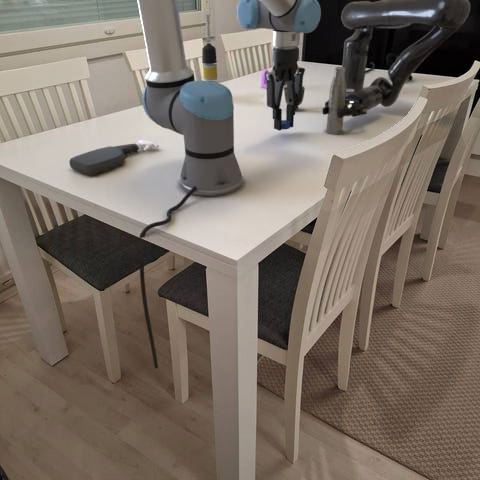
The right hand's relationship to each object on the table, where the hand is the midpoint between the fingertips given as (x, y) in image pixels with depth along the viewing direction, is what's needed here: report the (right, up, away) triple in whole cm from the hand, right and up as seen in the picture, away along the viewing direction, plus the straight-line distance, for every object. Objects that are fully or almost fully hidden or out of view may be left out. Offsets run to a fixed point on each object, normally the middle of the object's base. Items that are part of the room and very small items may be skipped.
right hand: (331, 112), depth 137 cm
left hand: (-15, -4, +2) cm, 15 cm away
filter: (-40, +18, +42) cm, 60 cm away
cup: (-9, +8, +26) cm, 29 cm away
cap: (-15, -3, +1) cm, 15 cm away
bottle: (+2, -5, +5) cm, 7 cm away
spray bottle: (-63, -17, -12) cm, 66 cm away
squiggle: (+44, +33, +63) cm, 84 cm away
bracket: (-13, +29, +59) cm, 67 cm away
